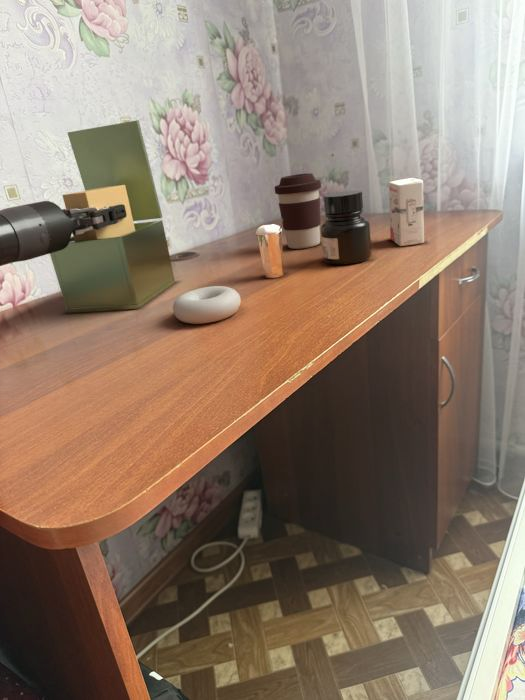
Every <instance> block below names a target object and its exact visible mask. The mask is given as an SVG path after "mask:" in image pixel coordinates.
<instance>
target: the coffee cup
mask: <svg viewBox="0 0 525 700" xmlns="http://www.w3.org/2000/svg"><path fill="white" fill-rule="evenodd" d="M321 188H322V181H321V179H316V177H315V176H314V174H313V173H311V172H308V173H299V174H292V175H285V176H282V177H281V178H280V180H279V184H277V185H275V186H274V194H276V195H277V196H278V201H279V203H278V207H279V213H280V217H281V220H282V219H283V222H282V228H283V230H284V234H285V239H286V245H287V247H288V248H289V249H292V250H293V249H294V250H298V249H299V250H302V249H308V248H312V247H313V248H314V247H316V246H318V245H319V244H320V243H321V227H320V226H321V198H320V193H319V192H320V190H319V189H321Z"/></svg>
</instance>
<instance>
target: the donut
mask: <svg viewBox="0 0 525 700" xmlns="http://www.w3.org/2000/svg"><path fill="white" fill-rule="evenodd" d="M241 303H242V299H241V296H240V293H238V291H236V290H235V289H234V288H232V287H229V286H223V285H215V286H214V285H212V286H205V287H199V288H196V289H193V290H189V291H187V292H184V293H182V294H181V295H179V296H178V297H177V298H176V299H175V301H173V305H172V311H173V313H174V316H175V318H176V319H177V320H178V321H180V322H182V323H186V324H190V325H191V324H192V325H202V324H203V325H204V324H210V323H215V322H219V321H222V320H225V319H227V318H229V317H231V316H232V315H234V314H235V313H236V312H237V311H238V310H239V308H240V306H241Z"/></svg>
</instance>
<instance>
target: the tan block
mask: <svg viewBox="0 0 525 700" xmlns="http://www.w3.org/2000/svg"><path fill="white" fill-rule="evenodd" d="M62 200H63V203H64V207H65V209H72V208H77V209H81V208H89V207H96V209H100V208H104V207H105V206H107V207H110V206H115V205H120V204H123V205H124V206H125V210H126V214H127V216H126V217H125V218H122V219H118V223H116V224H111V225H108V226H105V227H102V228H99V229H98V230H96V229H94V230H89V231H85V232H84V233H83V234H78V235H73V234H72V236H74V240H75V241H82V240H91V239H101V238H110V237H120V236H122V235H125V234H127V233H129V232H132V231H134V230H135V227H134V223H135V221H133V218H132V213H131V209H130V205H129V200H128V196H127V191H126V187H125V185H119V186H110V187H102V188H97V189H91V190H86V191H85V190H81V191H76V192H75V191H74V192H70V193H65V194H62ZM86 213H87V214H88V215H89V217H90V214H89V213H91V211H86ZM89 226H92V224H90V225H89Z"/></svg>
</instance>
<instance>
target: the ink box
mask: <svg viewBox="0 0 525 700" xmlns="http://www.w3.org/2000/svg"><path fill="white" fill-rule="evenodd" d="M388 198H389V199H388V201H389V202H388V203H389V238H390V240H391V241H393V242H394V243H395V244H397V245H398V246H399V247H406V246H413V245H420V244H425V225H424V223H425V219H424V216H425V215H424V181H423V179H419V178H415V177H409V178H403V179H398V180H392V181H388Z"/></svg>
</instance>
